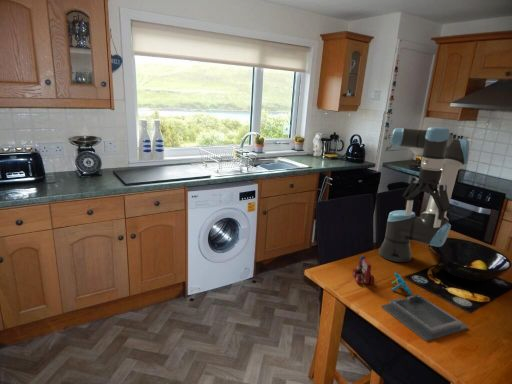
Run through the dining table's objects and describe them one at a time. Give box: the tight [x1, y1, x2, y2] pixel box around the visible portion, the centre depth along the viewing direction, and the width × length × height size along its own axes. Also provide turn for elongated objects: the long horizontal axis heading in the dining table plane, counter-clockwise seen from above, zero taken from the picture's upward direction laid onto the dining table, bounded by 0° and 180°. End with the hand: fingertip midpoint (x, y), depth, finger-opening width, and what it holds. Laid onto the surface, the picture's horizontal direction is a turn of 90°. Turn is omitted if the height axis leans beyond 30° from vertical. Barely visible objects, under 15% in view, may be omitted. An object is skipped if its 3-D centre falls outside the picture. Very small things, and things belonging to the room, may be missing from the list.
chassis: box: [381, 293, 469, 342], centre depth 121 cm, size 20×20×3 cm
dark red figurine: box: [352, 255, 375, 286], centre depth 145 cm, size 7×12×10 cm, turn 178°
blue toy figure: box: [391, 272, 413, 296], centre depth 138 cm, size 11×6×10 cm
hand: (421, 221), depth 134 cm, fingers open, 13 cm apart
